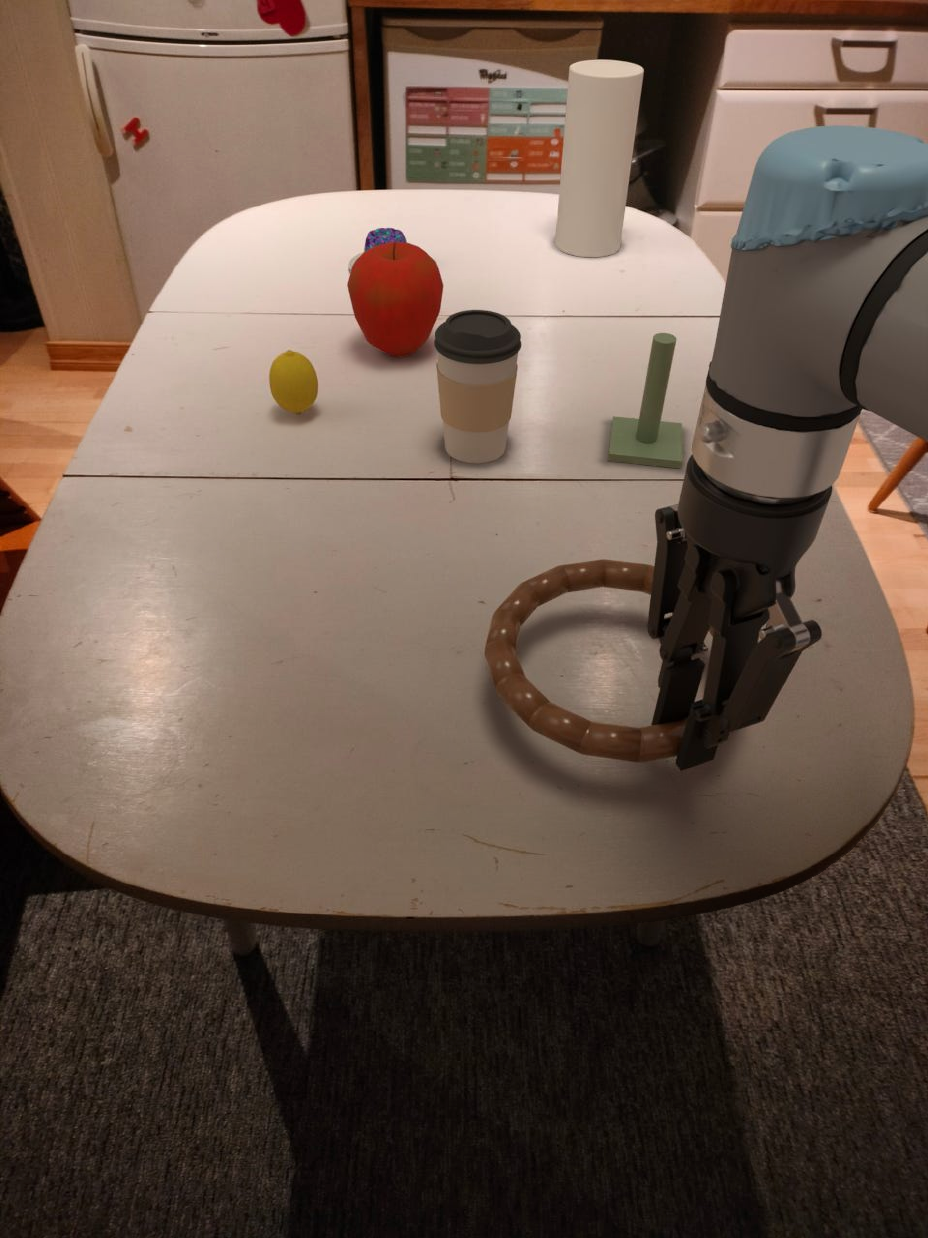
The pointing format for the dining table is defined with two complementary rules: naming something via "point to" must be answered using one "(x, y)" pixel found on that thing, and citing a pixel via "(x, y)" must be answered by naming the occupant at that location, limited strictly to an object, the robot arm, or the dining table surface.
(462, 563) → the dining table surface
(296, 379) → the lemon
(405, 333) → the apple
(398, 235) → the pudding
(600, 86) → the tall pillar cylinder
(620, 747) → the ring
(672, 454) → the post
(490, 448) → the coffee cup
